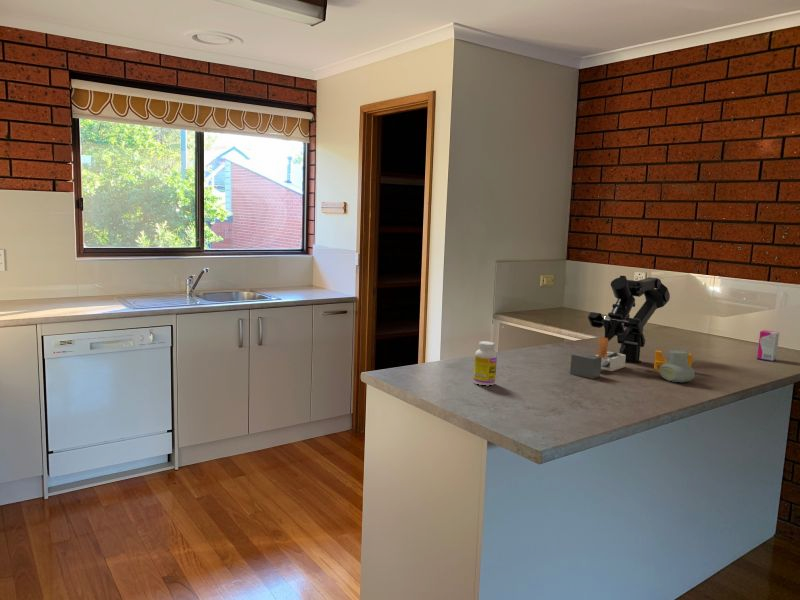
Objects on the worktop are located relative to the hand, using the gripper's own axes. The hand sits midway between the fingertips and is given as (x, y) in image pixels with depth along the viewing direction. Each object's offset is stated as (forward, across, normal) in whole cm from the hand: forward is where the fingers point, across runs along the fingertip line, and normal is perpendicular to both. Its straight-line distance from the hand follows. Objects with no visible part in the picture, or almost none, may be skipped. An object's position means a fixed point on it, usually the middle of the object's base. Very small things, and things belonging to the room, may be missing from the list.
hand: (606, 341), depth 220 cm
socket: (+17, 0, +3) cm, 17 cm away
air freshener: (+3, -23, -11) cm, 26 cm away
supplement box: (-45, -34, -59) cm, 82 cm away
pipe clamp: (-7, -16, -21) cm, 28 cm away
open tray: (+4, 0, -10) cm, 11 cm away
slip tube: (+6, 0, -7) cm, 9 cm away
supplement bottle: (+44, +14, +29) cm, 54 cm away
